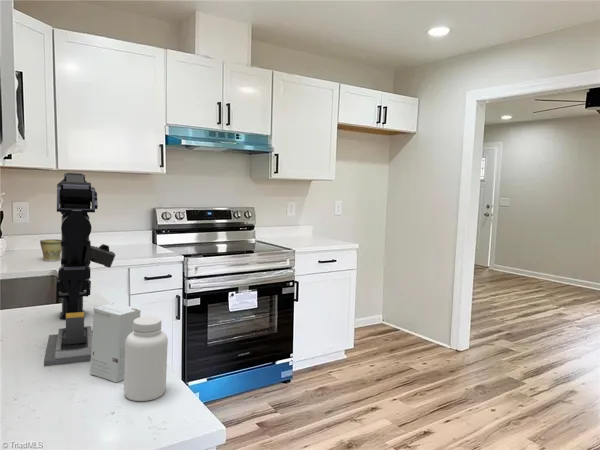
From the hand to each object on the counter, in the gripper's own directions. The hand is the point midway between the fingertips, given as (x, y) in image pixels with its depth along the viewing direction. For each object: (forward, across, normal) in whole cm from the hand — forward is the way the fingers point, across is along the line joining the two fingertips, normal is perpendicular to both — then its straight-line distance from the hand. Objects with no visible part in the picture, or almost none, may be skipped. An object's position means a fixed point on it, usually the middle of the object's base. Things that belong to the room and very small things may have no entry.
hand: (74, 302), depth 103 cm
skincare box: (+13, -14, -8) cm, 21 cm away
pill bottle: (+13, -24, -13) cm, 31 cm away
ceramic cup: (+13, +134, +11) cm, 135 cm away
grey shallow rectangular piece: (+13, +4, 0) cm, 14 cm away
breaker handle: (+12, +7, 0) cm, 13 cm away
